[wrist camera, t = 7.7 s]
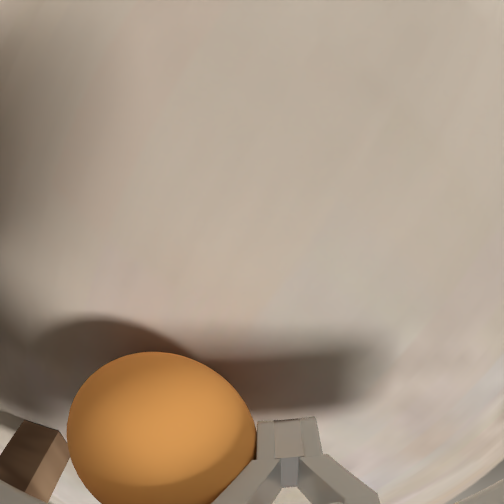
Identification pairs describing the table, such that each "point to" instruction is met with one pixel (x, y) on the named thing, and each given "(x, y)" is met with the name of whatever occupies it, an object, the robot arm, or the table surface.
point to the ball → (159, 431)
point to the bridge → (34, 460)
